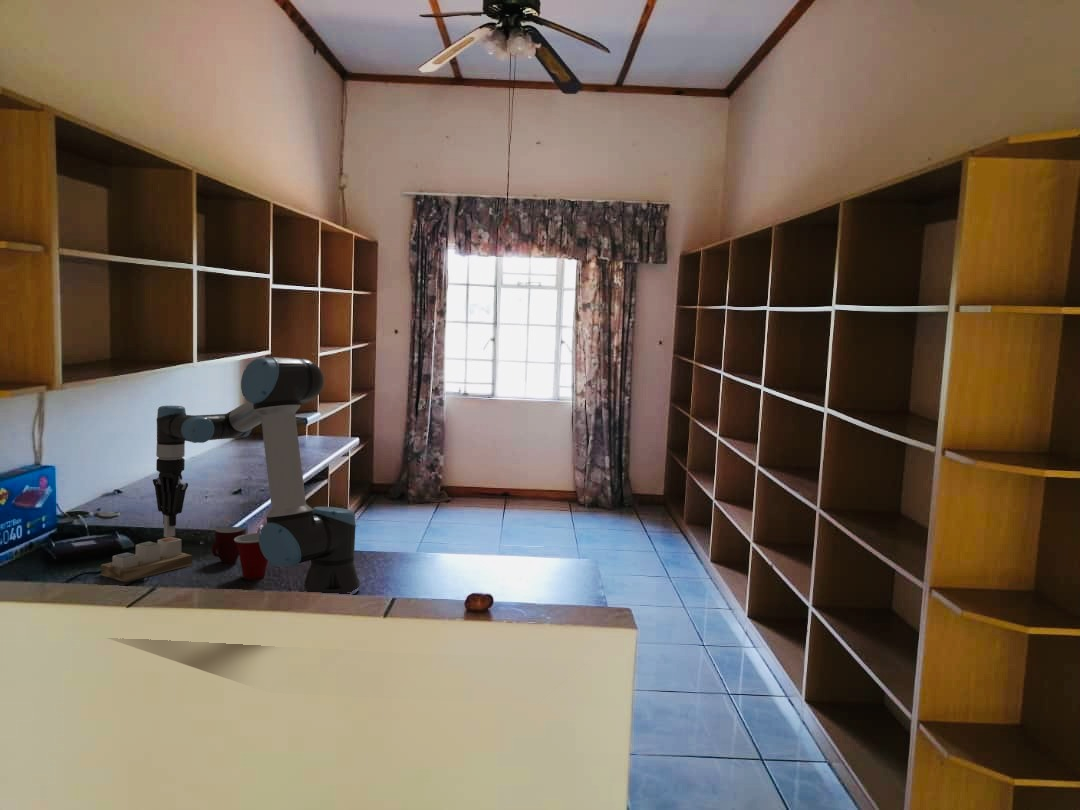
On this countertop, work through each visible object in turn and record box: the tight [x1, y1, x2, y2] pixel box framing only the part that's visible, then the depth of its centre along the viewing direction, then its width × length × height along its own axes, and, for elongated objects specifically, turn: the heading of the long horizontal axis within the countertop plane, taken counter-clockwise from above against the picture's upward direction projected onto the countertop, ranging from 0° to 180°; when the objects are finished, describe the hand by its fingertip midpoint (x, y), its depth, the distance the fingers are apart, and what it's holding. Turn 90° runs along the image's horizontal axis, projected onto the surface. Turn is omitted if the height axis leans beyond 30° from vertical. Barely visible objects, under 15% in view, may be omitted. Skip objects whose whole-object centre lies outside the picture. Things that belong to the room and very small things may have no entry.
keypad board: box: [100, 552, 193, 583], centre depth 223 cm, size 11×21×3 cm, turn 152°
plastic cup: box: [234, 532, 269, 580], centre depth 221 cm, size 11×11×12 cm
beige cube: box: [157, 536, 182, 558], centre depth 229 cm, size 5×5×5 cm
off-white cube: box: [111, 552, 138, 569], centre depth 216 cm, size 5×5×5 cm
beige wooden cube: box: [135, 541, 160, 564], centre depth 223 cm, size 5×5×5 cm
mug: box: [211, 526, 245, 564], centre depth 233 cm, size 11×8×10 cm
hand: (169, 536), depth 229 cm, fingers closed
